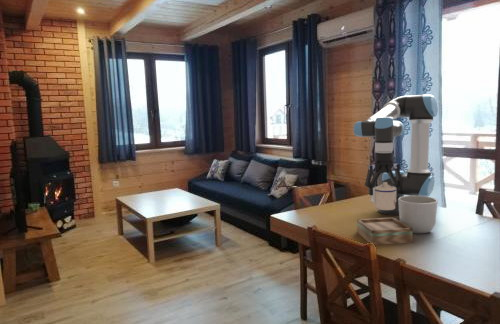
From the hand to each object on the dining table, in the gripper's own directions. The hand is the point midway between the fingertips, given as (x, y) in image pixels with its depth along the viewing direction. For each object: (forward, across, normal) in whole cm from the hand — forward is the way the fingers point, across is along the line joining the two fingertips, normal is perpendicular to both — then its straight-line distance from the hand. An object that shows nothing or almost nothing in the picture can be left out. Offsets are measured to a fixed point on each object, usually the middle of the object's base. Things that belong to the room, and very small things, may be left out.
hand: (383, 201), depth 169 cm
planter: (+17, -19, -6) cm, 26 cm away
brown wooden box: (+16, 0, 0) cm, 16 cm away
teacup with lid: (+3, 0, 0) cm, 3 cm away
